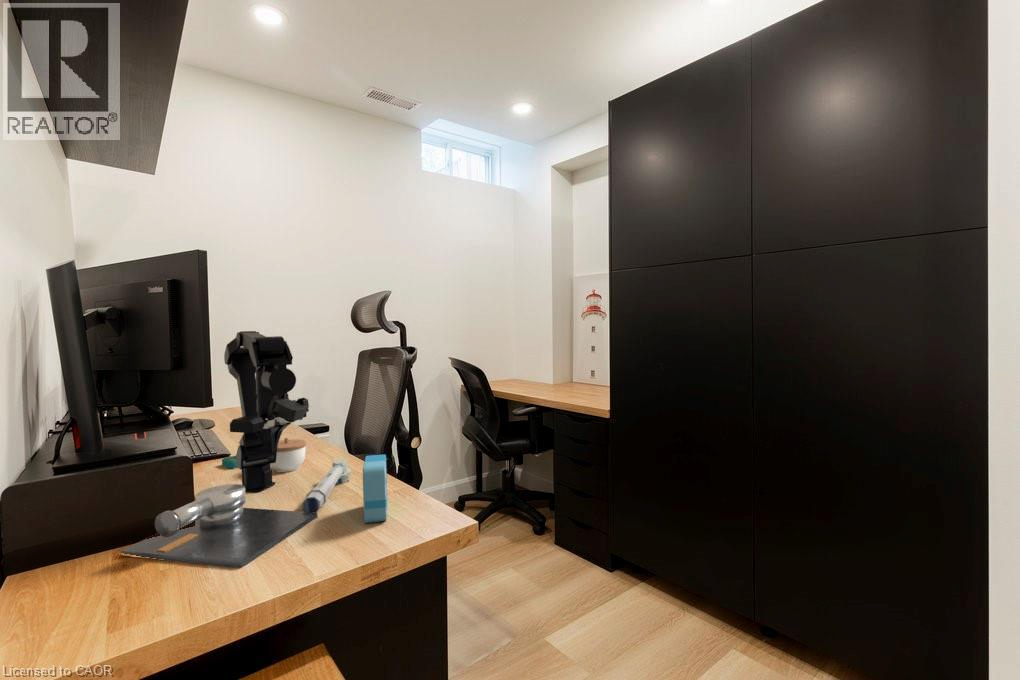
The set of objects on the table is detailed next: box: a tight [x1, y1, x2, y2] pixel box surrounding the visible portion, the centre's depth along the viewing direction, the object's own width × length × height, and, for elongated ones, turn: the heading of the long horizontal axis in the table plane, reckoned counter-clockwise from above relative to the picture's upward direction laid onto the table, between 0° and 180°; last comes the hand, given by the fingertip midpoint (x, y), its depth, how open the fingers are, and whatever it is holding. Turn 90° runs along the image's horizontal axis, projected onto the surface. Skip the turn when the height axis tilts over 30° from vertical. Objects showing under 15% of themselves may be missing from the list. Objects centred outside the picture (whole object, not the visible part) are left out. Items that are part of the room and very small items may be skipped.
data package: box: [362, 454, 388, 524], centre depth 105 cm, size 12×4×12 cm, turn 14°
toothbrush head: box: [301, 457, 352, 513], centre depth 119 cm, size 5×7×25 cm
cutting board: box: [119, 504, 318, 569], centre depth 95 cm, size 26×22×4 cm
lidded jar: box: [270, 437, 307, 473], centre depth 140 cm, size 11×11×9 cm
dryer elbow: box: [154, 483, 247, 537], centre depth 96 cm, size 18×9×5 cm, turn 171°
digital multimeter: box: [221, 455, 244, 470], centre depth 149 cm, size 7×15×3 cm, turn 144°
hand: (271, 453), depth 113 cm, fingers closed
